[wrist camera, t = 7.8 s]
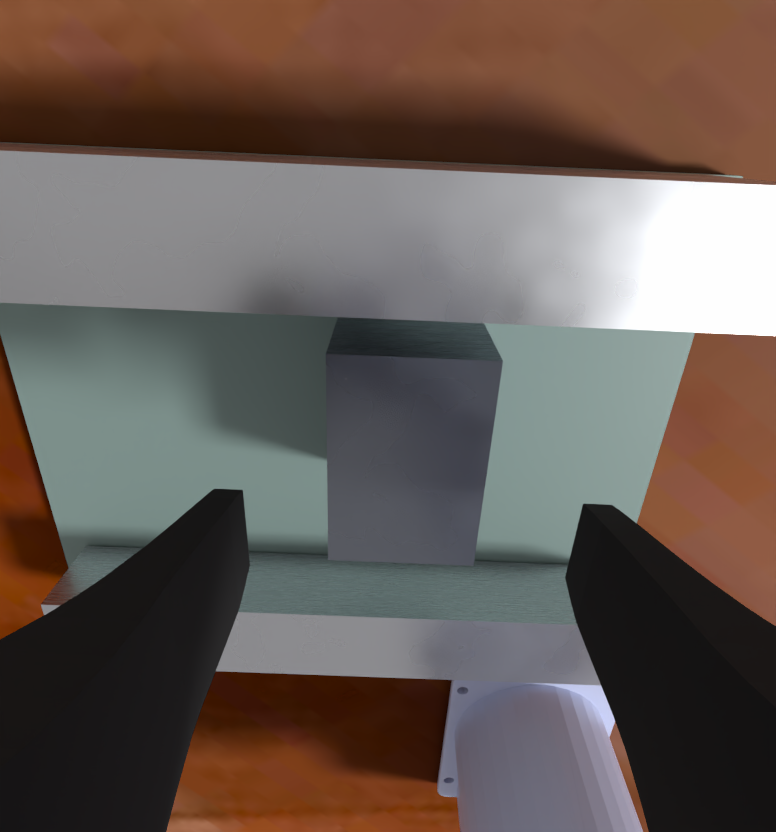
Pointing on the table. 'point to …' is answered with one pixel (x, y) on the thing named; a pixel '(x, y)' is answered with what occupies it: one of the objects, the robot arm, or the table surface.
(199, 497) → the vise base
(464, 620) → the bar
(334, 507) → the steel block
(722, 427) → the table surface
